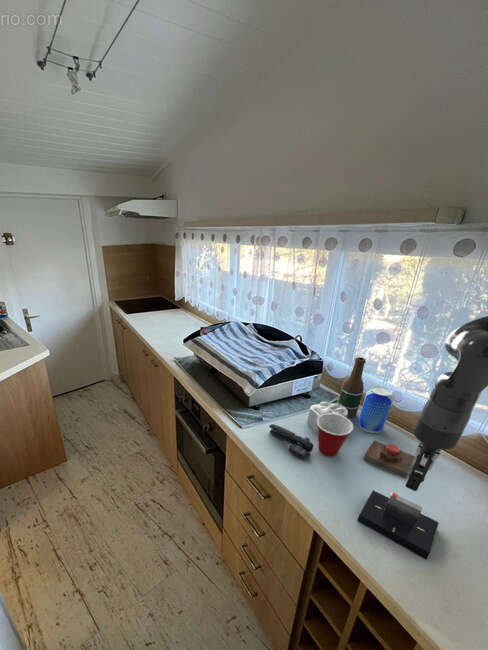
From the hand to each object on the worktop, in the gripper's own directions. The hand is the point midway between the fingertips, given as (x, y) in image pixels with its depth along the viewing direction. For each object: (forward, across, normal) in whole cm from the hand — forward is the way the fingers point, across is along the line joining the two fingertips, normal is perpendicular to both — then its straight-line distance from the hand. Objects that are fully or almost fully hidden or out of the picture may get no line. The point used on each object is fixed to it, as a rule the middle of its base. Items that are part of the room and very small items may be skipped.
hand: (415, 478), depth 71 cm
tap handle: (+13, -1, 0) cm, 13 cm away
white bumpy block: (+16, +29, +30) cm, 45 cm away
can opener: (+16, +10, +35) cm, 40 cm away
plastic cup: (+16, +15, +24) cm, 32 cm away
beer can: (+16, +39, +18) cm, 46 cm away
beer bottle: (+16, +43, +28) cm, 54 cm away
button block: (+16, +24, +8) cm, 30 cm away
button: (+12, +24, +8) cm, 28 cm away
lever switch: (+16, 0, 0) cm, 16 cm away
